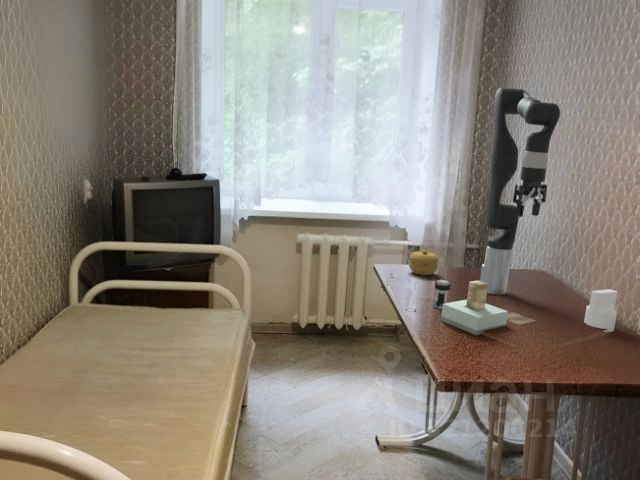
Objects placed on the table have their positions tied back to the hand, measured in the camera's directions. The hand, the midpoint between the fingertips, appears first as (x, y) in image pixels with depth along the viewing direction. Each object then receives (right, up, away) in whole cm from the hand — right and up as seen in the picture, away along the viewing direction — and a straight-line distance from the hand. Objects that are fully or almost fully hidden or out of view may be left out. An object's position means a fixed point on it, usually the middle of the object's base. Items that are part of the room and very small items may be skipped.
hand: (527, 216), depth 196 cm
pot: (-26, -22, +50) cm, 60 cm away
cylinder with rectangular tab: (+23, -36, -1) cm, 43 cm away
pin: (-20, -33, -9) cm, 39 cm away
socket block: (-20, -34, -8) cm, 40 cm away
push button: (-27, -31, +3) cm, 42 cm away
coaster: (-5, -34, -2) cm, 34 cm away
